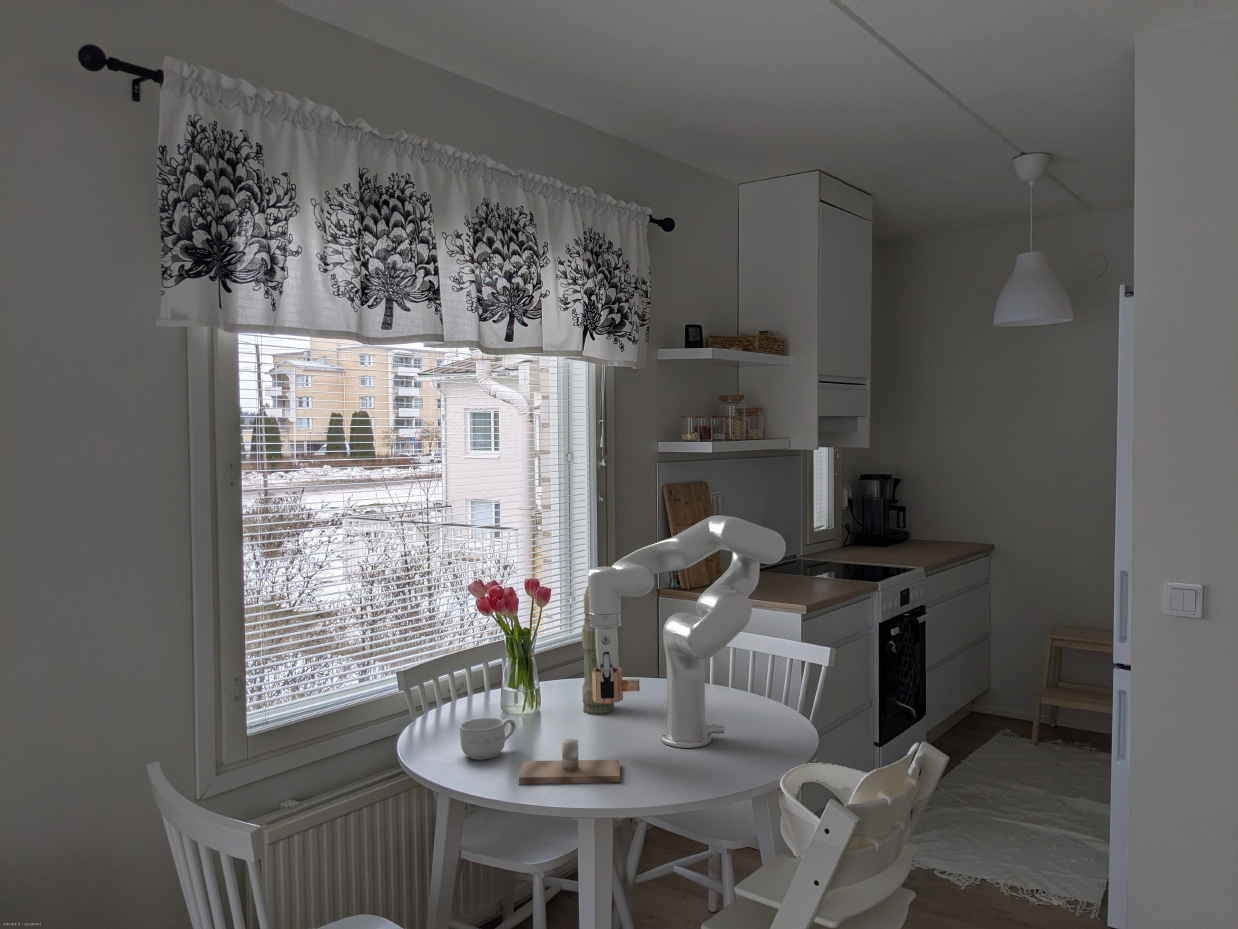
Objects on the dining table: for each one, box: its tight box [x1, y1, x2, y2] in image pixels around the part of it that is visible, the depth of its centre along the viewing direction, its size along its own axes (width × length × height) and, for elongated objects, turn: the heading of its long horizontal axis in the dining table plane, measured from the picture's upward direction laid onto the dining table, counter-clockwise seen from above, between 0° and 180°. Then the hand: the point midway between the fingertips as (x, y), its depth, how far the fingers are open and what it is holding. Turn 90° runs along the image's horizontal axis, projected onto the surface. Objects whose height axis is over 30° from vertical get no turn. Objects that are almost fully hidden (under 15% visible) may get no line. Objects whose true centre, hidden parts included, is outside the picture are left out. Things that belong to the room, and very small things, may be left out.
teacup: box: [459, 716, 516, 761], centre depth 206 cm, size 14×11×8 cm
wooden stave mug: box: [592, 666, 641, 704], centre depth 206 cm, size 7×11×7 cm, turn 91°
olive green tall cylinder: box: [581, 585, 615, 716], centre depth 240 cm, size 9×12×35 cm
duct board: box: [518, 738, 621, 785], centre depth 192 cm, size 22×10×8 cm, turn 91°
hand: (607, 692), depth 206 cm, fingers closed on wooden stave mug, 7 cm apart
